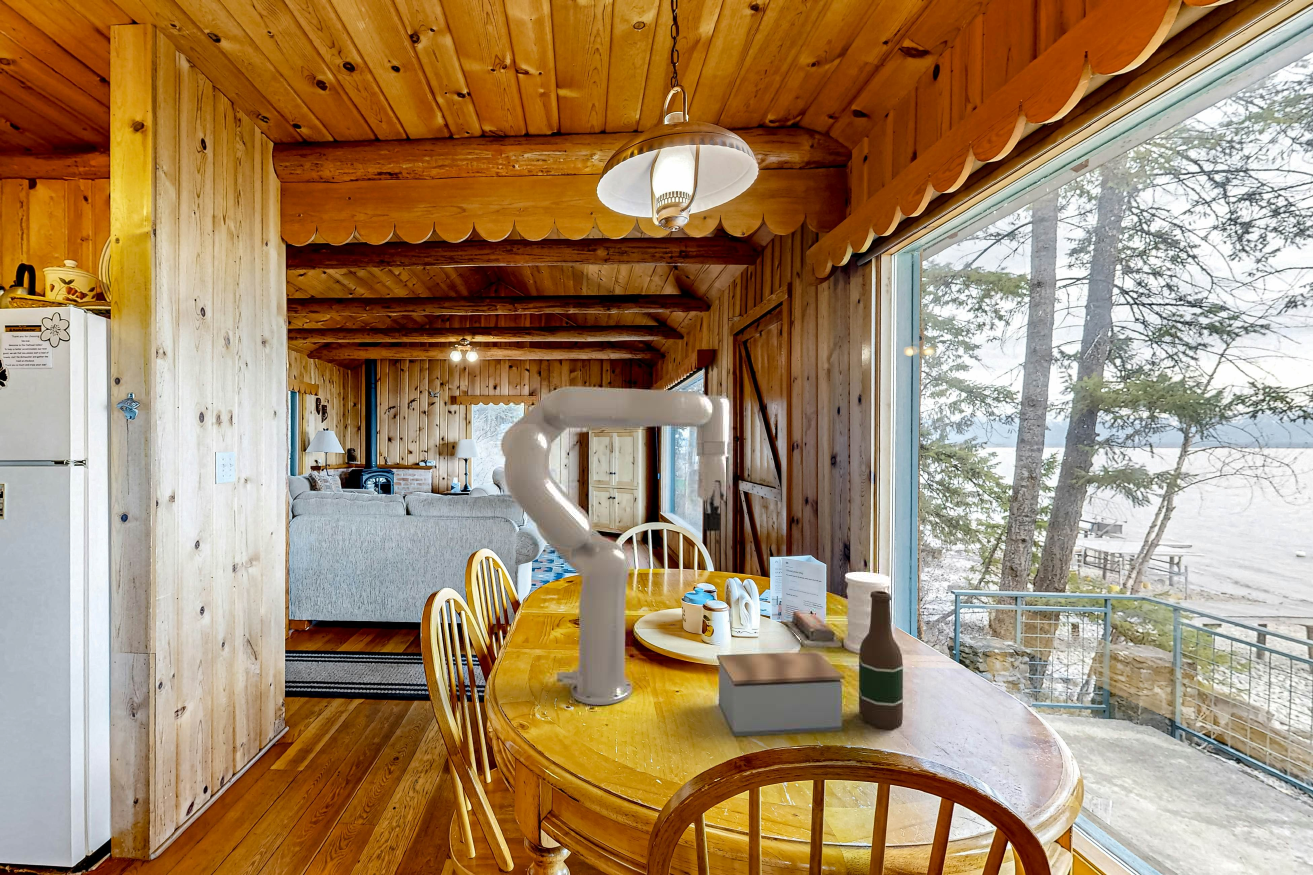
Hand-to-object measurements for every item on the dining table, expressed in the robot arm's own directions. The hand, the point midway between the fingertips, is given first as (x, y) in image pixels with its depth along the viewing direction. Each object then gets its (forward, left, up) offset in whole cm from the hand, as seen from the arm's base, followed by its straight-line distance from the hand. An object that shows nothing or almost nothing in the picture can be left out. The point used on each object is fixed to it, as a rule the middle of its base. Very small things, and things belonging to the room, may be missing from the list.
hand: (712, 530), depth 127 cm
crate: (+8, -22, -32) cm, 40 cm away
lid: (+8, -22, -23) cm, 33 cm away
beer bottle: (+27, -25, -32) cm, 49 cm away
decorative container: (+43, +11, -32) cm, 55 cm away
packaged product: (+32, +21, -33) cm, 51 cm away
